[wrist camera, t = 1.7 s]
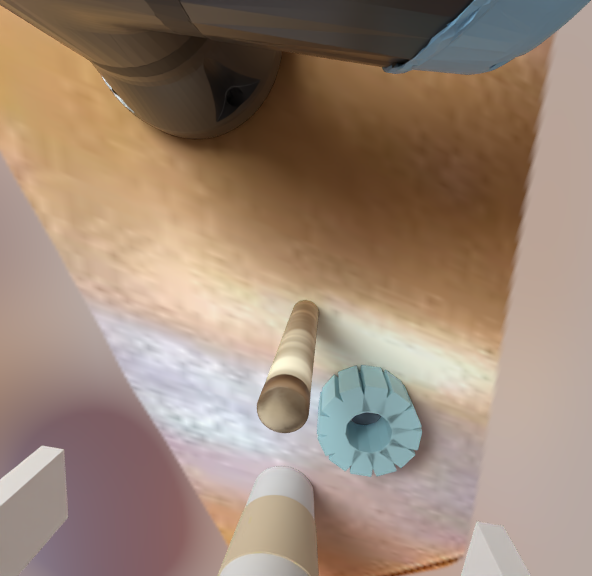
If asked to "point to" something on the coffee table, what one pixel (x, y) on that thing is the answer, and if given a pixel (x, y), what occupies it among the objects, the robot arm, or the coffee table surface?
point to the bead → (373, 437)
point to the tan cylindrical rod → (291, 373)
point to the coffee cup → (275, 528)
